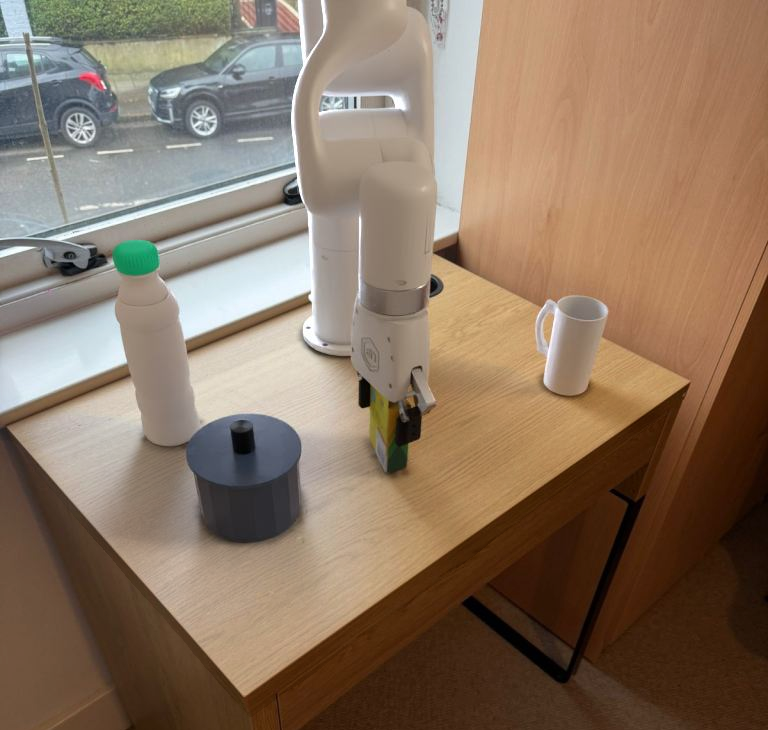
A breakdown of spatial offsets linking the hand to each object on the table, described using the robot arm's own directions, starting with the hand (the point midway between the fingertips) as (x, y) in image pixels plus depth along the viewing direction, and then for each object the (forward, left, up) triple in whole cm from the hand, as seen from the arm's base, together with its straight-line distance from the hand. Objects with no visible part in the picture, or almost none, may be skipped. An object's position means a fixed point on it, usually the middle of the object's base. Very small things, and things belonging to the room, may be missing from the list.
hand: (388, 422), depth 92 cm
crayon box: (0, 0, -5) cm, 5 cm away
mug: (-3, +30, -6) cm, 31 cm away
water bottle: (-18, -22, -6) cm, 29 cm away
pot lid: (0, -19, +3) cm, 19 cm away
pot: (0, -19, -5) cm, 19 cm away
